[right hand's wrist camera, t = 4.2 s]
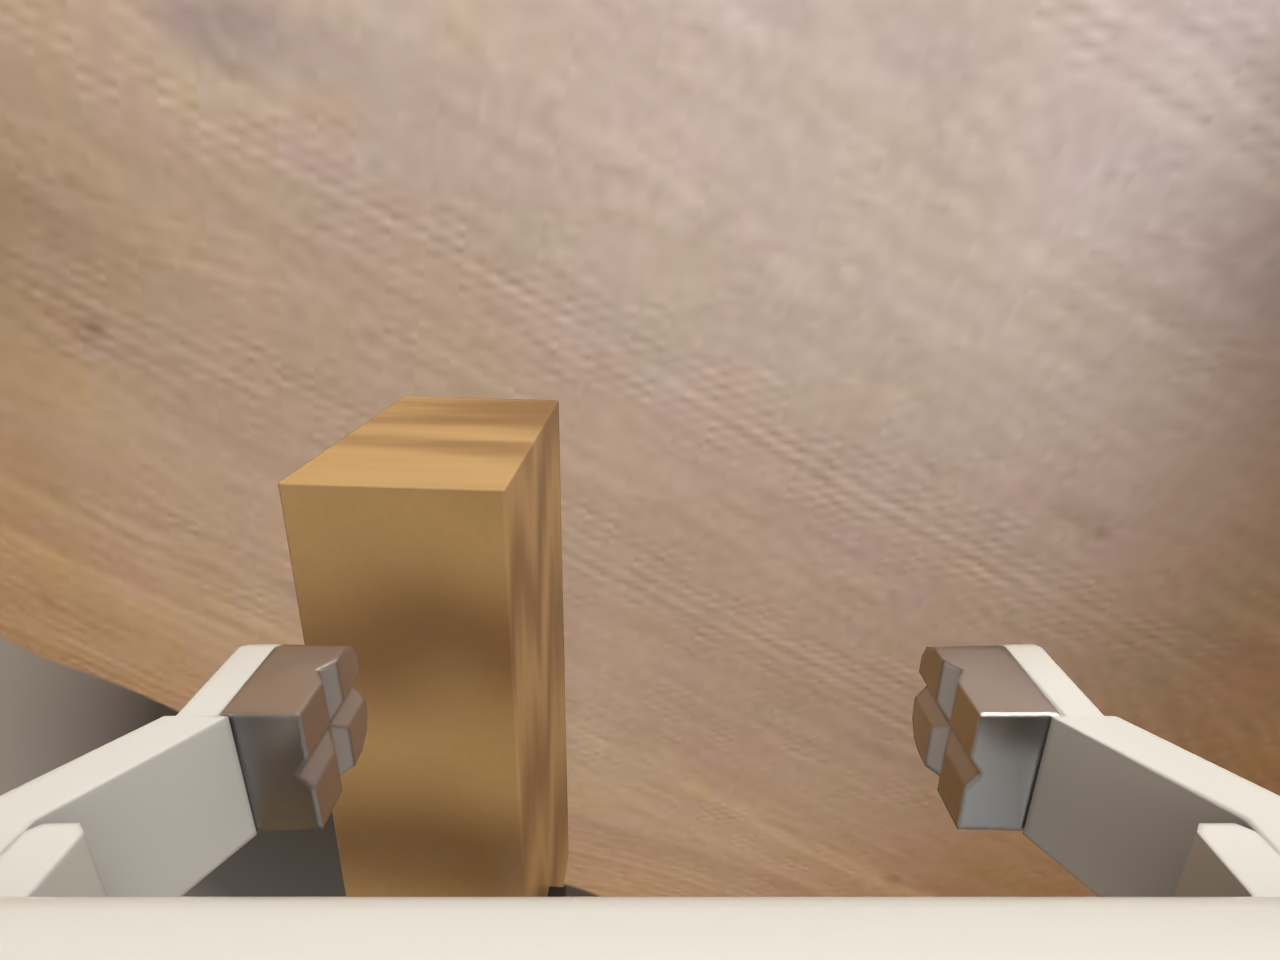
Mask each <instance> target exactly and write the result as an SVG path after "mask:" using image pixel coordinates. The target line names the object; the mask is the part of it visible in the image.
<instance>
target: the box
mask: <svg viewBox="0 0 1280 960" xmlns="http://www.w3.org/2000/svg"><path fill="white" fill-rule="evenodd" d="M278 485H279V491H280V497H281V504H282V510H283V516H284V522H285V528H286V534H287V540H288V546H289V552H290V558H291V564H292V570H293V576H294V582H295V588H296V594H297V600H298V607H299V613H300V619H301V625H302V631H303V637H304V643H305V645H330V646H351V647H352V648H353V649H354V650H355V651H356V652H357V655H358V660H359V665H360V670H361V672H360V674H359V676H358V678H357V679H356V681H355V683H354V684H353V686H354V687H355V688H356V689H357V690H358V691H359V692H360V693H361V694H362V695H363V696H364V697H365V700H366V707H367V732H366V736H365V741H364V745H363V750H362V752H361V754H360V756H359V758H358V760H357V762H356V765H355V766H354V767H352V768H351V769H349V770H348V771H347V772H345V773H344V774H342V775H341V776H340V779H341V784H342V792H341V794H340V796H339V798H338V800H337V802H336V804H335V806H334V808H333V810H332V813H333V819H334V825H335V831H336V837H337V843H338V849H339V855H340V861H341V867H342V873H343V879H344V885H345V891H346V897H547V896H548V891H549V887H550V886H555V887H563V884H564V878H565V872H566V866H567V860H568V808H567V762H566V716H565V670H564V624H563V578H562V532H561V486H560V440H559V402H558V401H557V400H521V399H484V398H447V397H410V396H405V397H403V398H402V399H400V400H399V401H397V402H396V403H394V404H393V405H391V406H390V407H389V408H387V409H386V410H384V411H383V412H381V413H380V414H378V415H377V416H375V417H374V418H372V419H371V420H369V421H368V422H367V423H365V424H364V425H362V426H361V427H359V428H358V429H356V430H355V431H353V432H352V433H350V434H349V435H347V436H346V437H345V438H343V439H342V440H340V441H339V442H337V443H336V444H334V445H333V446H331V447H330V448H328V449H327V450H325V451H324V452H322V453H321V454H320V455H318V456H317V457H315V458H314V459H312V460H311V461H309V462H308V463H306V464H305V465H303V466H302V467H300V468H299V469H298V470H296V471H295V472H293V473H292V474H290V475H289V476H287V477H286V478H284V479H283V480H281V481H280V482H279V484H278Z"/></svg>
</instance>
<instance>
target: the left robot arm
mask: <svg viewBox="0 0 1280 960" xmlns="http://www.w3.org/2000/svg"><path fill="white" fill-rule="evenodd" d="M547 897H566V887H555V886H550V887H549V891H548V896H547Z"/></svg>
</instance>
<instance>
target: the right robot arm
mask: <svg viewBox="0 0 1280 960" xmlns="http://www.w3.org/2000/svg"><path fill="white" fill-rule="evenodd" d="M360 672H361V670H360V665H359V660H358V655H357V652H356V651H355V650H354V649H353V648H352V647H351V646H330V645H278V644H249V645H245V646H241V647H239V648H238V649H237V650H236V651H235V652H234V653H233V654H232V655H231V656H230V658H229V659H228V660H227V661H226V662H225V663H224V664H223V665H222V666H221V667H220V668H219V670H218V671H217V672H216V673H215V674H214V675H213V676H212V677H211V678H210V679H209V680H208V682H207V683H206V684H205V685H204V686H203V687H202V688H201V689H200V690H199V691H198V692H197V693H196V695H195V696H194V697H193V698H192V699H191V700H190V701H189V702H188V703H187V704H186V705H185V707H184V708H183V709H182V710H181V711H180V712H179V713H178V714H177V715H176V716H163V717H161V718H159V719H157V720H155V721H153V722H151V723H149V724H147V725H145V726H143V727H141V728H139V729H137V730H135V731H132V732H131V733H128V734H126V735H124V736H122V737H120V738H118V739H116V740H114V741H112V742H110V743H108V744H106V745H104V746H102V747H100V748H98V749H95V750H93V751H91V752H89V753H87V754H85V755H83V756H81V757H79V758H77V759H75V760H73V761H71V762H69V763H67V764H65V765H63V766H60V767H58V768H56V769H54V770H52V771H50V772H48V773H46V774H44V775H42V776H40V777H38V778H36V779H34V780H32V781H30V782H27V783H25V784H23V785H21V786H19V787H17V788H15V789H13V790H11V791H9V792H7V793H5V794H3V795H1V796H0V960H1280V796H1279V795H1277V794H1275V793H1273V792H1271V791H1269V790H1266V789H1264V788H1262V787H1260V786H1258V785H1256V784H1254V783H1252V782H1250V781H1248V780H1246V779H1244V778H1242V777H1240V776H1238V775H1236V774H1234V773H1232V772H1230V771H1227V770H1225V769H1223V768H1221V767H1219V766H1217V765H1215V764H1213V763H1211V762H1209V761H1207V760H1205V759H1203V758H1201V757H1199V756H1197V755H1195V754H1193V753H1191V752H1188V751H1186V750H1184V749H1182V748H1180V747H1178V746H1176V745H1174V744H1172V743H1170V742H1168V741H1166V740H1164V739H1162V738H1160V737H1158V736H1156V735H1154V734H1152V733H1149V732H1147V731H1145V730H1143V729H1141V728H1139V727H1137V726H1135V725H1133V724H1131V723H1129V722H1127V721H1125V720H1123V719H1121V718H1119V717H1117V716H1104V715H1103V714H1102V713H1101V712H1100V711H1099V710H1098V709H1097V708H1096V707H1095V706H1094V704H1093V703H1092V702H1091V701H1090V700H1089V699H1088V698H1087V697H1086V696H1085V695H1084V694H1083V692H1082V691H1081V690H1080V689H1079V688H1078V687H1077V686H1076V685H1075V684H1074V683H1073V682H1072V680H1071V679H1070V678H1069V677H1068V676H1067V675H1066V674H1065V673H1064V672H1063V671H1062V669H1061V668H1060V667H1059V666H1058V665H1057V664H1056V663H1055V662H1054V661H1053V660H1052V659H1051V657H1050V656H1049V655H1048V654H1047V653H1046V652H1045V651H1044V650H1043V649H1042V648H1041V647H1039V646H1036V645H1034V644H1014V645H997V646H952V647H926V649H925V651H924V653H923V655H922V658H921V664H920V669H919V672H920V674H921V676H922V678H923V679H924V681H925V683H926V684H927V686H926V687H925V688H924V689H923V690H922V691H921V692H920V693H919V694H918V695H917V696H916V697H915V701H914V709H913V717H912V720H913V731H914V739H915V742H916V746H917V749H918V752H919V754H920V756H921V758H922V760H923V763H924V765H925V766H926V767H928V768H929V769H931V770H932V771H933V772H935V773H936V774H938V775H939V776H940V778H939V784H938V792H939V794H940V796H941V798H942V800H943V802H944V804H945V806H946V808H947V810H948V812H949V813H950V815H951V817H952V819H953V821H954V823H955V825H956V827H957V829H976V830H1012V831H1023V834H1024V835H1025V836H1026V837H1027V838H1028V839H1030V840H1031V841H1032V842H1033V843H1035V844H1036V845H1037V846H1038V847H1039V848H1041V849H1042V850H1043V851H1044V852H1045V853H1047V854H1048V855H1049V856H1050V857H1051V858H1053V859H1054V860H1055V861H1056V862H1058V863H1059V864H1060V865H1061V866H1062V867H1064V868H1065V869H1066V870H1067V871H1068V872H1070V873H1071V874H1072V875H1073V876H1074V877H1076V878H1077V879H1078V880H1079V881H1080V882H1082V883H1083V884H1084V885H1085V886H1087V887H1088V888H1089V889H1090V890H1091V891H1093V892H1094V893H1095V894H1096V895H1097V896H1099V897H182V896H183V895H184V894H185V893H186V892H188V891H189V890H190V889H191V888H192V887H194V886H195V885H196V884H197V883H198V882H200V881H201V880H202V879H203V878H205V877H206V876H207V875H208V874H209V873H211V872H212V871H213V870H214V869H215V868H217V867H218V866H219V865H220V864H222V863H223V862H224V861H225V860H226V859H227V858H229V857H230V856H231V855H232V854H234V853H235V852H236V851H237V850H238V849H240V848H241V847H242V846H243V845H244V844H246V843H247V842H248V841H249V840H251V839H252V838H253V837H254V836H255V835H257V832H256V831H268V830H303V829H323V827H324V825H325V823H326V821H327V819H328V817H329V815H330V813H331V812H332V810H333V808H334V806H335V804H336V802H337V800H338V798H339V796H340V794H341V792H342V784H341V779H340V776H341V775H342V774H344V773H345V772H347V771H348V770H349V769H351V768H352V767H354V766H355V765H356V762H357V760H358V758H359V756H360V754H361V752H362V750H363V745H364V741H365V736H366V732H367V707H366V700H365V697H364V696H363V695H362V694H361V693H360V692H359V691H358V690H357V689H356V688H355V687H354V686H353V684H354V683H355V681H356V679H357V678H358V676H359V674H360Z"/></svg>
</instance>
